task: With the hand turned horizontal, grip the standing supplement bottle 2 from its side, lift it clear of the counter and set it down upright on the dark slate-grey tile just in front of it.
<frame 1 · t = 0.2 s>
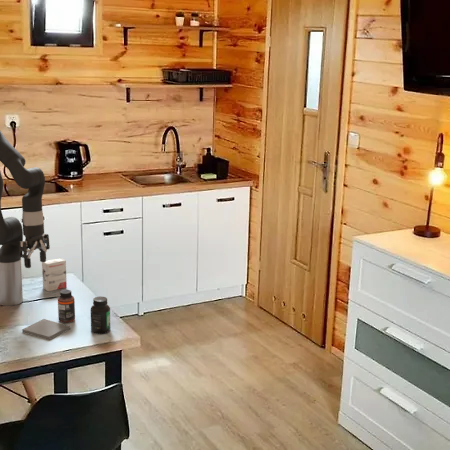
hand: (35, 264, 263), 18 cm above the table, tool pointing down, fingers open, 8 cm apart
supplement bottle 2: (66, 320, 258), on the table
ink box: (54, 288, 290), on the table
supplement bottle: (100, 331, 250), on the table
slate tile: (46, 330, 248), on the table
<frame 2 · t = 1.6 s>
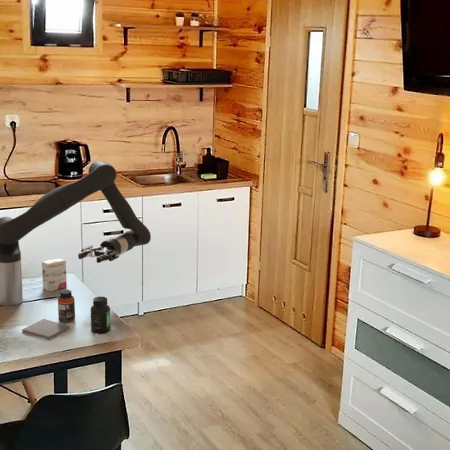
hand: (88, 258, 264), 20 cm above the table, tool horizontal, fingers open, 8 cm apart
nothing on the table moved.
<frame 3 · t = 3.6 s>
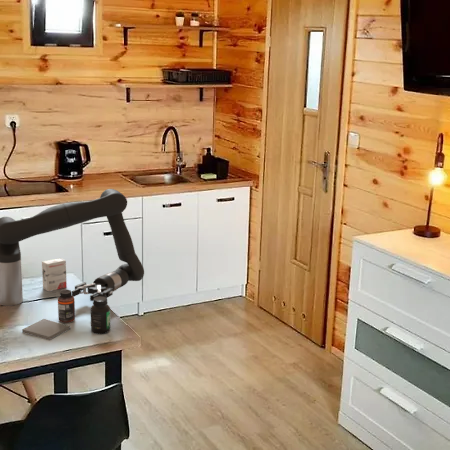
hand: (81, 296, 264), 6 cm above the table, tool horizontal, fingers open, 8 cm apart
nothing on the table moved.
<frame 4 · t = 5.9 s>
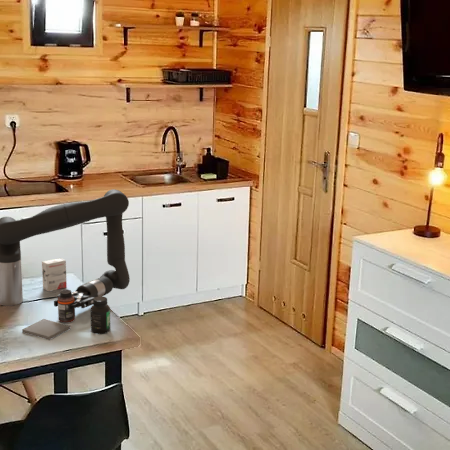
hand: (62, 305, 254), 7 cm above the table, tool horizontal, fingers closed on supplement bottle 2, 6 cm apart
supplement bottle 2: (66, 320, 258), on the table, touching gripper
everything else where it was.
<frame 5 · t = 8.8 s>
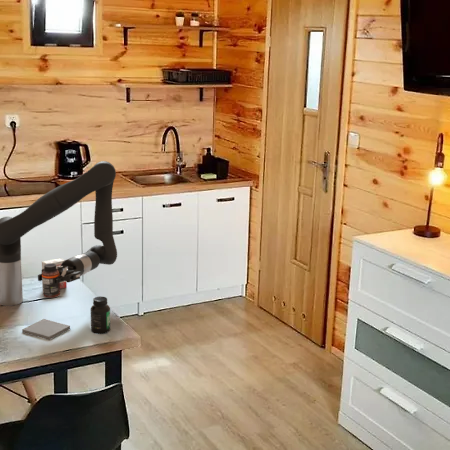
hand: (46, 279, 244), 19 cm above the table, tool horizontal, fingers closed on supplement bottle 2, 6 cm apart
supplement bottle 2: (51, 295, 248), point 12 cm above the table, touching gripper
everything else where it was.
when the fingers open (9 cm above the table, at t = 11.5 s): supplement bottle 2 stays where it is, resting on slate tile.
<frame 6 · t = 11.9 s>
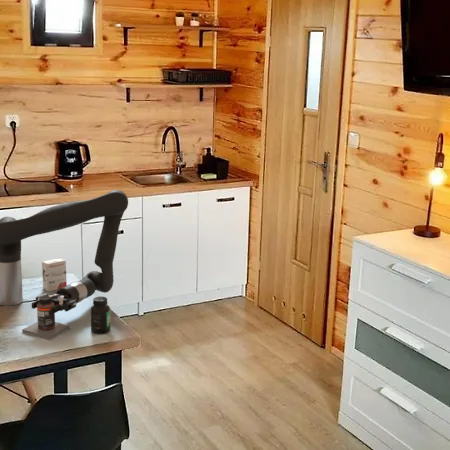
hand: (41, 308, 244), 9 cm above the table, tool horizontal, fingers open, 8 cm apart
supplement bottle 2: (46, 327, 248), point 1 cm above the table, touching slate tile
everything else where it was.
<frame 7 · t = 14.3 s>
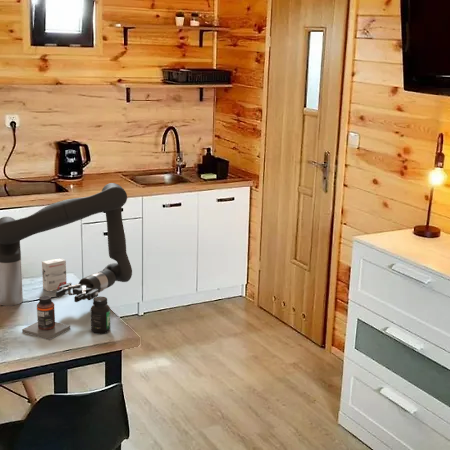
hand: (65, 297, 255), 9 cm above the table, tool horizontal, fingers open, 8 cm apart
nothing on the table moved.
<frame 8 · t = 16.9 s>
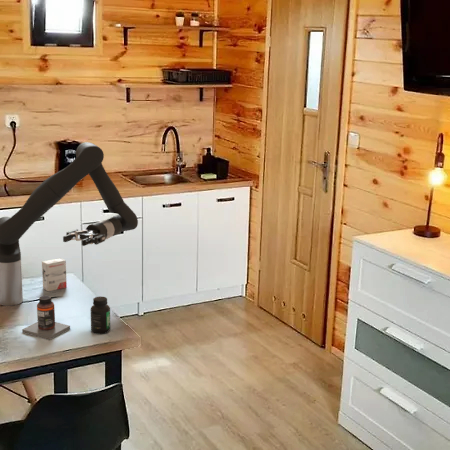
hand: (73, 241, 258), 28 cm above the table, tool horizontal, fingers open, 8 cm apart
nothing on the table moved.
at the end: supplement bottle 2 inside the target area on the slate tile (0.1 cm from its centre), point 1.0 cm above the slate tile's base; supplement bottle 2 tilted 0°; the gripper is holding nothing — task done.
